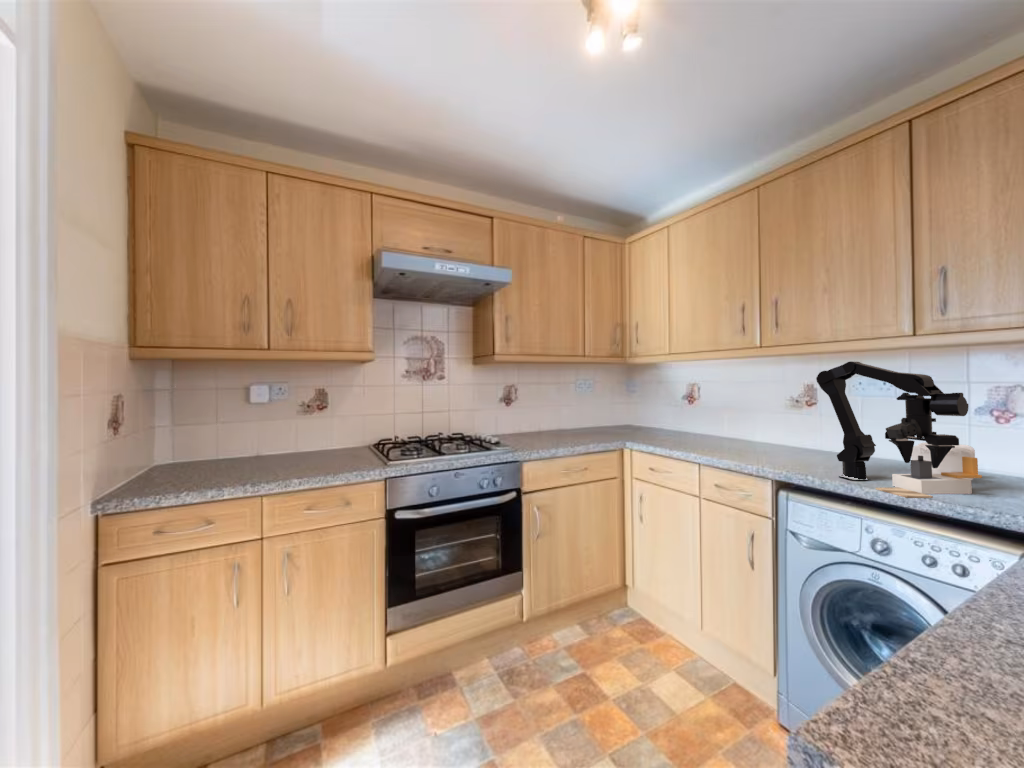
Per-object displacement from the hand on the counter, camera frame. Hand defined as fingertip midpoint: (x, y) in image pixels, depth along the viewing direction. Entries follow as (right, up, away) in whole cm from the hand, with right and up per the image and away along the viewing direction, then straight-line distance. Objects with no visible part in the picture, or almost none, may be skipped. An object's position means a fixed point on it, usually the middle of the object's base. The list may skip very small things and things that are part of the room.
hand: (920, 465), depth 128 cm
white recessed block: (+3, -8, 0) cm, 8 cm away
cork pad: (-9, -8, -4) cm, 12 cm away
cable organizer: (+24, -8, +15) cm, 29 cm away
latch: (+12, -3, -1) cm, 12 cm away
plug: (0, -5, 0) cm, 5 cm away
